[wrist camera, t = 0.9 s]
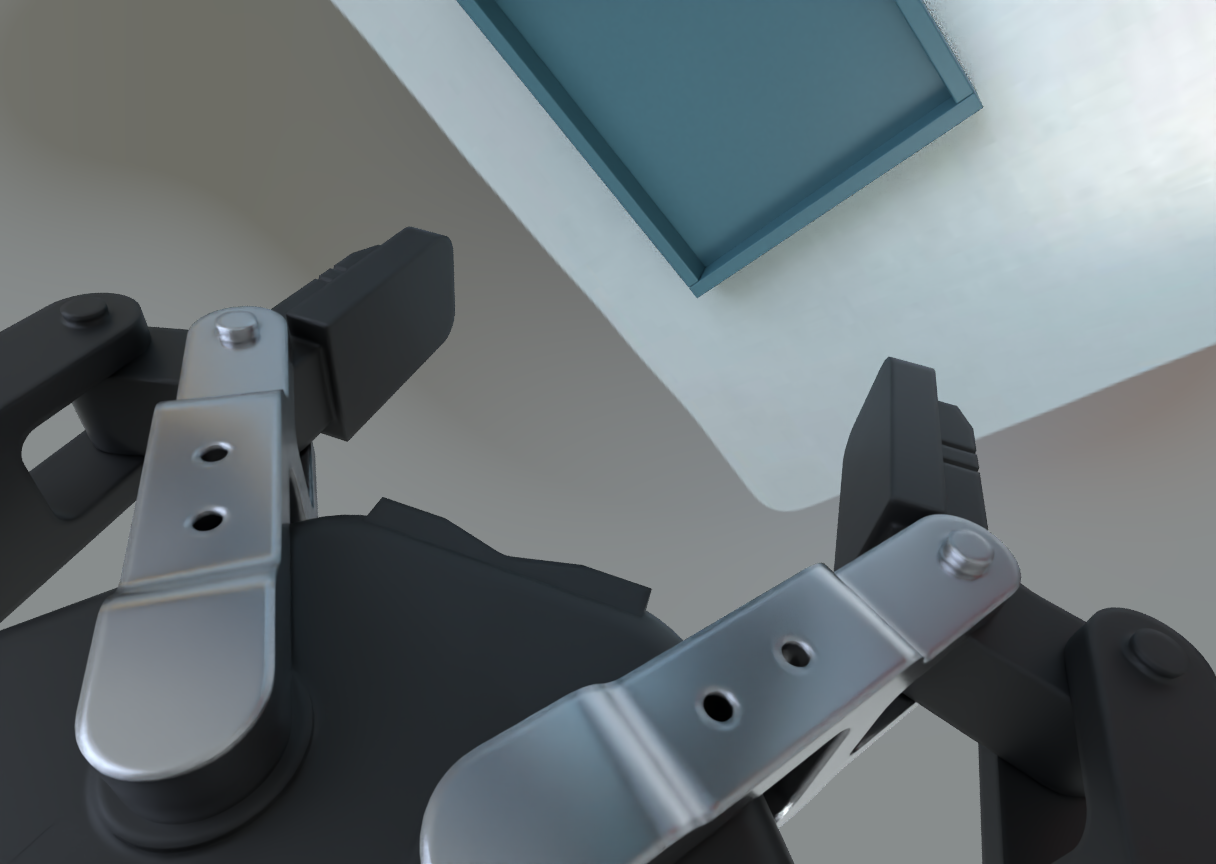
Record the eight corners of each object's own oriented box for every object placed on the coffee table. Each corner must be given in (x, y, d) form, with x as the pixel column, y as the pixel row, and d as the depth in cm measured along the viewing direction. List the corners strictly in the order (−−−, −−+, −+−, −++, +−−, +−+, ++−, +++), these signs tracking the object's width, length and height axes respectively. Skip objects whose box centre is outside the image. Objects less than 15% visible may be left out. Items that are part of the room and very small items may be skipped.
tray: (456, -33, 36) (432, -29, 34) (699, -379, 26) (685, -401, 24) (705, 279, 43) (696, 298, 41) (978, 94, 33) (983, 107, 31)
